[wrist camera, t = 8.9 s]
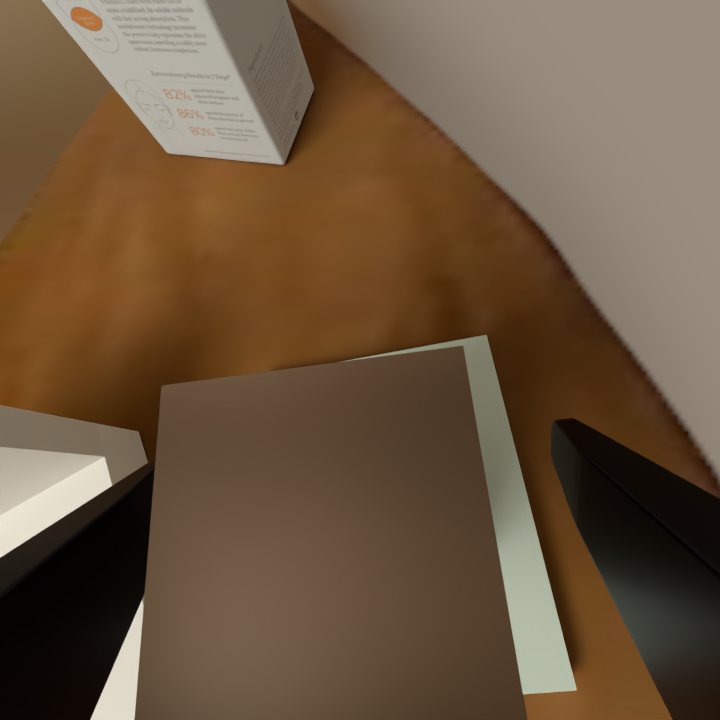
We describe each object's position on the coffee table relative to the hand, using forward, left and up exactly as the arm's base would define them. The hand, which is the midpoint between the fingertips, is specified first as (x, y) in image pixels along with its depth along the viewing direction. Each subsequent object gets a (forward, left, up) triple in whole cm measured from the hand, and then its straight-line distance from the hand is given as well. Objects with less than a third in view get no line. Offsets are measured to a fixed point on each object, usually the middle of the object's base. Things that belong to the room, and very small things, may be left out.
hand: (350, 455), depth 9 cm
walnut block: (-1, 0, -7) cm, 7 cm away
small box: (+21, +6, -8) cm, 23 cm away
